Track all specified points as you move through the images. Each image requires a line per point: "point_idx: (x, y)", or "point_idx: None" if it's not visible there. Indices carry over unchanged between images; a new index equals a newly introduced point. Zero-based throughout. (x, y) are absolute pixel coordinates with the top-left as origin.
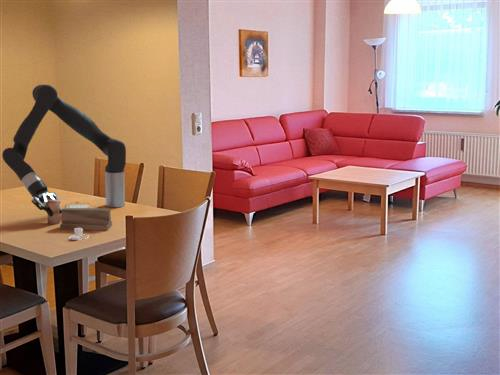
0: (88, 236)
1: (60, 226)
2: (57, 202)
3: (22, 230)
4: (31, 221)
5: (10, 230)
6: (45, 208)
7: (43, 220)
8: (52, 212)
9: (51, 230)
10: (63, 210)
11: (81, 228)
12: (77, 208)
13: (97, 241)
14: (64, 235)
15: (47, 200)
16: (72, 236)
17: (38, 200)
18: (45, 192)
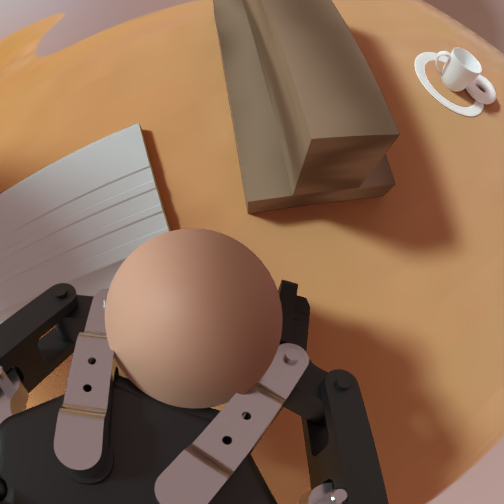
0: (426, 53)
1: (391, 185)
2: (220, 236)
3: (444, 409)
4: None
5: (447, 464)
6: (308, 368)
7: None
8: (294, 290)
9: (412, 241)
10: (391, 119)
11: (453, 51)
12: (296, 38)
13: (450, 31)
14: (458, 140)
15: (196, 407)
16: (485, 92)
17: (357, 474)
18: (58, 501)
